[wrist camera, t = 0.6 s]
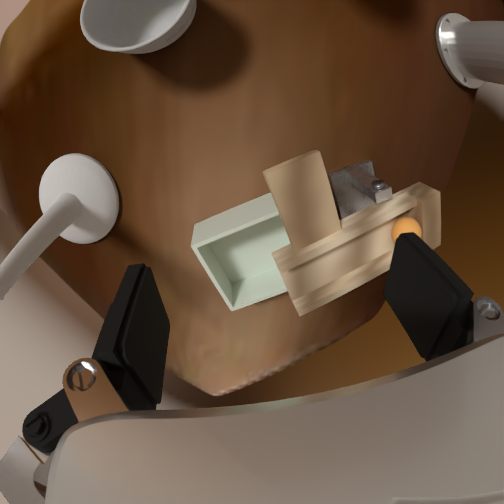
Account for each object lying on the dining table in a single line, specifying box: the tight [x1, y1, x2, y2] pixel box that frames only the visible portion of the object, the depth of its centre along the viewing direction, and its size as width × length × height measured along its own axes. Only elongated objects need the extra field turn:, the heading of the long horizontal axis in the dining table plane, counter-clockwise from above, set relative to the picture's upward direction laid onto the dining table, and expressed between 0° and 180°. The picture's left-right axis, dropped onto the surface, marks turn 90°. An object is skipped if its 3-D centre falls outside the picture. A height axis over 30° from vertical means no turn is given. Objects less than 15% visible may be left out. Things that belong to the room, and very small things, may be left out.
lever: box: [262, 150, 441, 316], centre depth 25 cm, size 19×15×4 cm
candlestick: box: [0, 153, 119, 300], centre depth 19 cm, size 13×13×30 cm
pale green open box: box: [191, 193, 290, 311], centre depth 35 cm, size 13×11×6 cm
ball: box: [392, 217, 422, 242], centre depth 27 cm, size 4×4×4 cm
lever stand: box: [328, 159, 393, 220], centre depth 32 cm, size 6×11×9 cm, turn 22°
